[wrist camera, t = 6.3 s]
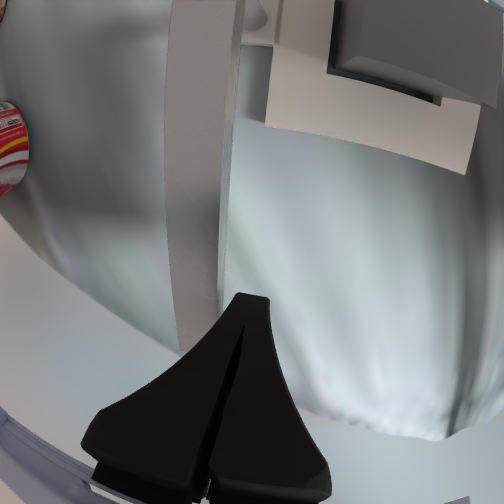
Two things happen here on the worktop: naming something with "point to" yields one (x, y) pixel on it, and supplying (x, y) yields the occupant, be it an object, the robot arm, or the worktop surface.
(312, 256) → the worktop surface
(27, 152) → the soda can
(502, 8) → the pad
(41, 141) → the worktop surface
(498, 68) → the plug
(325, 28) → the socket plate
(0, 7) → the sauce bottle
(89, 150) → the worktop surface
